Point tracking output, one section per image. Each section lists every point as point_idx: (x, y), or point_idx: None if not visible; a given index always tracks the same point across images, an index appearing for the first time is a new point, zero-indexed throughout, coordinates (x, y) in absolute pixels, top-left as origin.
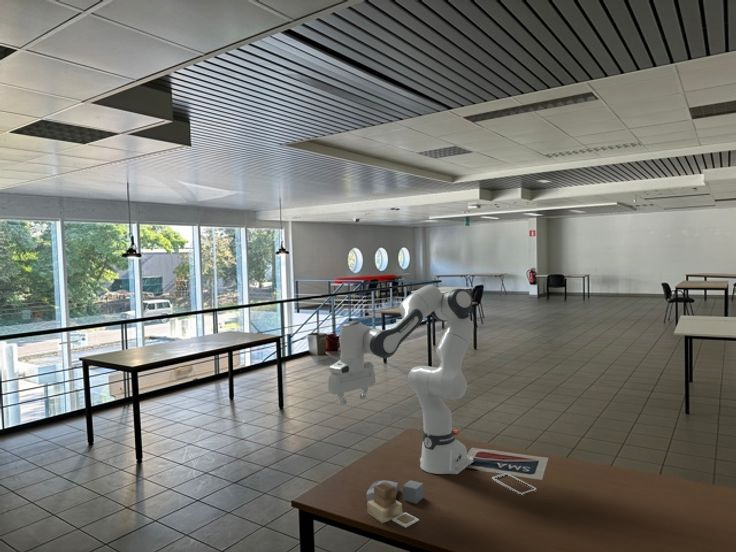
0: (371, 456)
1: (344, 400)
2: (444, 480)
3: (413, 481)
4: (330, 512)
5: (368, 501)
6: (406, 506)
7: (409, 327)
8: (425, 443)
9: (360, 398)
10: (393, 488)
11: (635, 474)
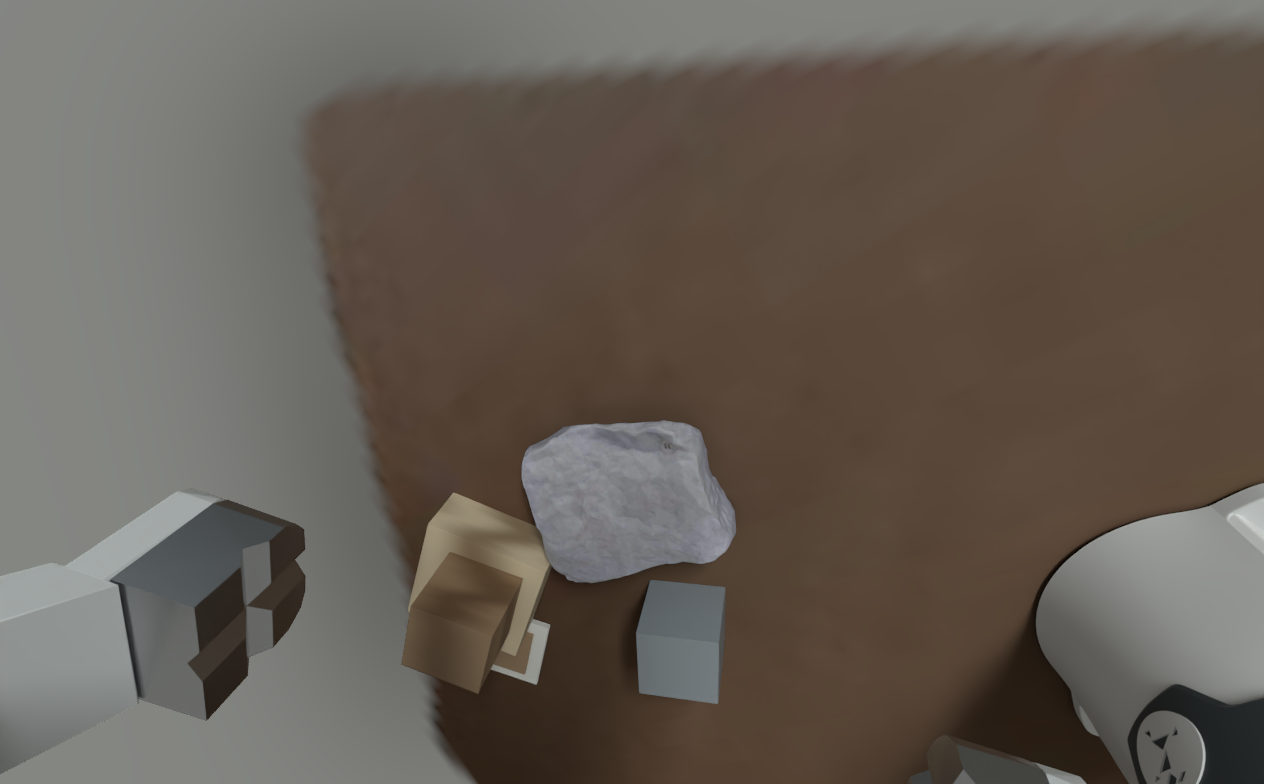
0: (1257, 57)
1: (153, 684)
2: (968, 681)
3: (713, 661)
4: (341, 342)
5: (435, 527)
6: (605, 609)
7: None
8: (1175, 724)
9: (943, 757)
10: (463, 686)
11: None
